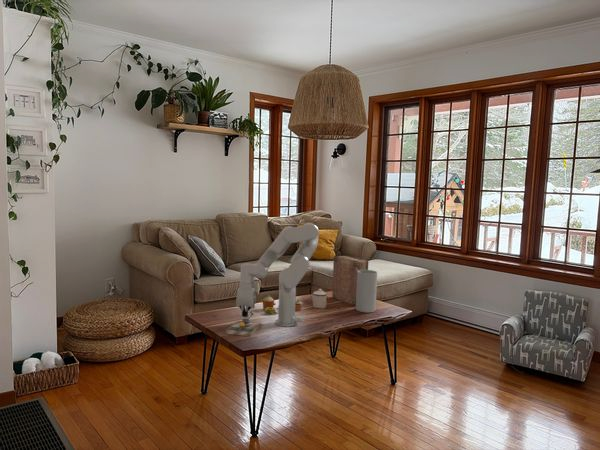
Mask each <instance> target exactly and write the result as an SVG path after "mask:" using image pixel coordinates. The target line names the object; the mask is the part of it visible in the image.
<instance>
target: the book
mask: <svg viewBox="0 0 600 450" xmlns="http://www.w3.org/2000/svg"><path fill="white" fill-rule="evenodd" d="M332 265H333V268H332V271H333V272H332V299H335V300H338V301H340V302H343V303H345V304H349V305H351V306H353V307H356V293H357V271H358V270H369V260H368V259H363V258H359V257H354V256H350V255H345V254H342V255H340V254H339V255H333V264H332Z"/></svg>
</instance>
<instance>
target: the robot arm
mask: <svg viewBox="0 0 600 450" xmlns="http://www.w3.org/2000/svg"><path fill="white" fill-rule="evenodd" d="M319 233H320V230H319V228H318V226H317V225H316V224H314V223H312V222H305V223H304V224H303V225H300V226H296V227H295V226H290V225H288V226H285V227H284V228H283V229H282V230H281V231H280V233H279V234H278V235H277V237H276V238H275V239H274V241H273V242H272V243H271V244H270V246H269V247H268V248H267V249H266V251H265V252H263V254H262V255H261V256H260V258H259V259H258V260H257V261H256V263H255V265H254V264H253V263H251V262H250V263H249V262H247V263H245V262H244V263H242V264H241V265H240V274H239V275H240V276H239V278H240V279H239V286H238V289H237V293H236V299H235V300H236V301H235V302H236V305H235V306H236V307H237V308H239V309H240V310H241V317H242V316H248V315H249V310H252V309H253V310H254V309H255V308H256V288H255V287H257V285H256V284H255V282H254V281H255V279H254V278H256V279H264V278H266V277H268V274H269V269H270V267H271V265H273V263H274V262H275V261H276V260H277V259H279V258H280V257H282V256H283V255H284V254H285V253H286V252H287V250H288V249H289V247H290V246H291V244H295V243H301V244H300V246H299V247H298V248H297V250H296V252H295V253H294V254H293V255H292V257H291V259H290V264H289V266H288V267H286V268H285V267H284V268H283V269H282V270H281V271H280V272H279V275H278V306H279V307H278V308H279V309H278V311H277V314H278V318H277V319H276V320H275V324H276V325H277V326H280V327H295V326H297V325H298V323H303V318H302V317H297V314H296V311H295V303H296V301H297V298H296V297H297V285H298V284H299V283H300V282H301V281H302V279H303V278H304V276H305V275H306V273H307V272H308V270H309V267H310V260H311V258H312V256H313V255H314V253H315V252H316V250H317V247H318V245H319Z"/></svg>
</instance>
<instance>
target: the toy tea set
mask: <svg viewBox="0 0 600 450" xmlns="http://www.w3.org/2000/svg"><path fill="white" fill-rule="evenodd" d="M260 303H262V308H263V311H264V314H266V315H268V316H269V315H270V316H273V315H277V314H278V311H277V310H276V307H275V306H276V302H275V299H274V298H273V297H271V296H270V295H267V296H266V297H264V298H262V299H261V300H260ZM302 306H303V301H301V300H300V299H298V298H296V303H295V313H296V312H298V313H299V312H301V311H302ZM277 309H278V310H279V305H278V306H277Z"/></svg>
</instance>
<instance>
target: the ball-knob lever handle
mask: <svg viewBox="0 0 600 450" xmlns="http://www.w3.org/2000/svg"><path fill="white" fill-rule="evenodd" d="M253 315H254V313H253V311H250V312H248V316H242V315H241V321H242V322H241V323H240V324H239V325H240V327H241V328H243V327H245V326H250V325H251V321H250V319H251V317H252V316H253Z"/></svg>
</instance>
